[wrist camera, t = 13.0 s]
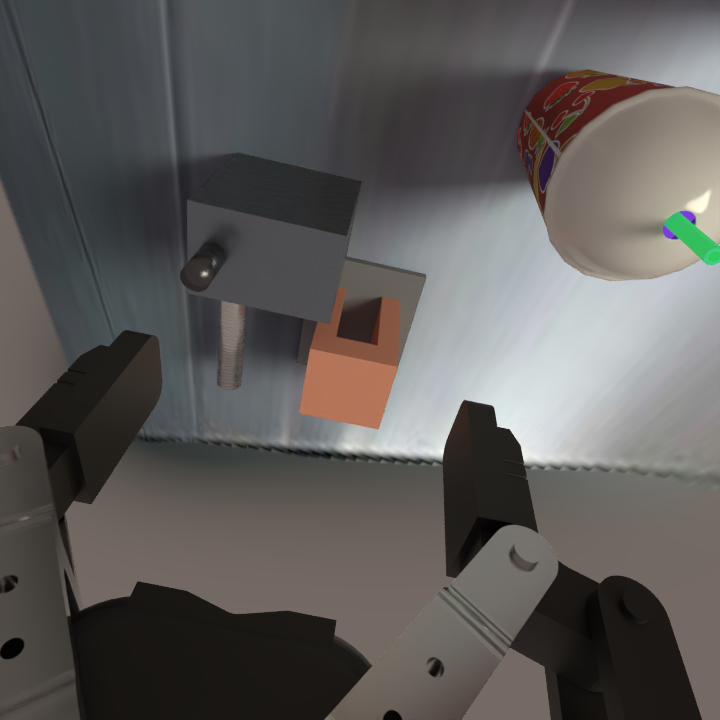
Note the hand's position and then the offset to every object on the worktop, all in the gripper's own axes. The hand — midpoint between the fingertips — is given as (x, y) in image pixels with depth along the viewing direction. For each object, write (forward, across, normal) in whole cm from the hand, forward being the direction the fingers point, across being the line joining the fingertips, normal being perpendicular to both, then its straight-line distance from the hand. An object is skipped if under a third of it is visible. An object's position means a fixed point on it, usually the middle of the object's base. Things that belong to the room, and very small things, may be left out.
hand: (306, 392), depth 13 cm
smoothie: (+27, -12, -3) cm, 30 cm away
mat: (+27, -1, +14) cm, 30 cm away
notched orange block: (+26, -1, +14) cm, 30 cm away
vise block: (+26, +6, +11) cm, 29 cm away
